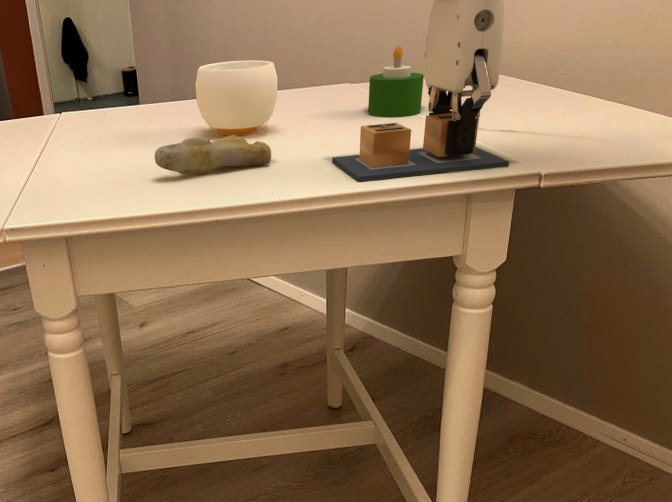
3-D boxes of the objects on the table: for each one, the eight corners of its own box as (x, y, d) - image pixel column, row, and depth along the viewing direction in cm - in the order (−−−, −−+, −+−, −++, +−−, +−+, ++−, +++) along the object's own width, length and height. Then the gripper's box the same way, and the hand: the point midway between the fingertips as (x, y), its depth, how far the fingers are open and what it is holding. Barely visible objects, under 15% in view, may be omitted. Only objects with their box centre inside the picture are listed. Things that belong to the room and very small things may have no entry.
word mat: (468, 148, 91) (468, 143, 90) (508, 166, 82) (509, 160, 82) (331, 162, 89) (332, 156, 89) (358, 181, 80) (358, 175, 80)
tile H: (394, 155, 87) (396, 121, 85) (408, 164, 83) (411, 128, 81) (359, 159, 87) (360, 124, 85) (371, 168, 83) (373, 131, 81)
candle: (357, 114, 116) (360, 47, 111) (387, 105, 120) (391, 41, 115) (401, 118, 110) (406, 49, 105) (430, 109, 115) (436, 42, 110)
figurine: (250, 138, 94) (144, 138, 88) (270, 126, 89) (159, 124, 83) (254, 177, 94) (149, 180, 88) (274, 167, 89) (164, 169, 83)
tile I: (457, 145, 87) (461, 111, 85) (474, 153, 84) (479, 117, 82) (422, 149, 87) (425, 114, 85) (438, 157, 83) (442, 120, 81)
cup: (200, 143, 104) (196, 73, 99) (197, 127, 115) (193, 63, 110) (283, 137, 104) (283, 66, 99) (272, 121, 115) (271, 57, 110)
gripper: (544, -24, 69) (514, 163, 78) (464, -24, 84) (447, 133, 93) (471, -19, 69) (450, 169, 78) (403, -19, 83) (392, 138, 92)
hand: (448, 148), depth 85 cm, fingers closed on tile I, 4 cm apart
